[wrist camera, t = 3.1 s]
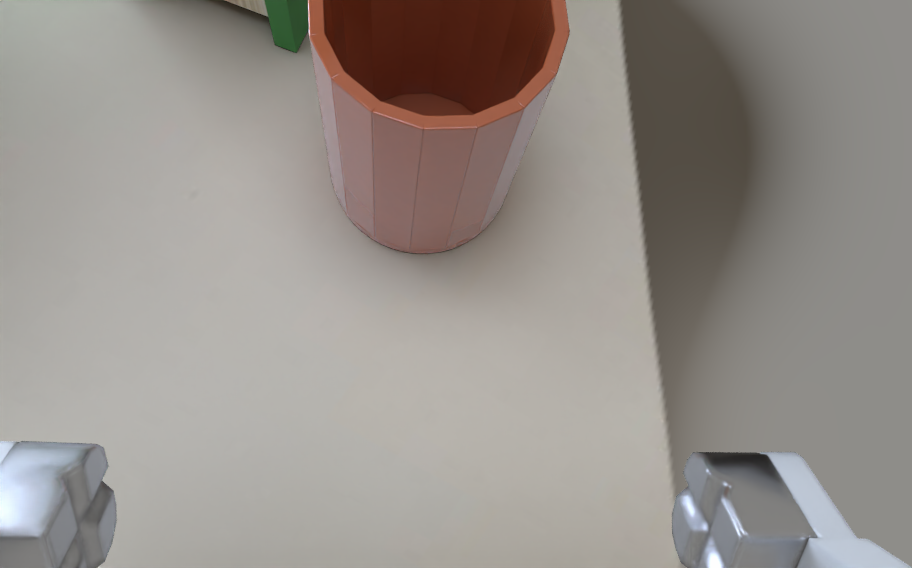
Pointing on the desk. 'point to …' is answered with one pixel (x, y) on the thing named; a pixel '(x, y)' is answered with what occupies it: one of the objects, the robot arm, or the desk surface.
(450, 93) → the cup
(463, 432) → the desk surface
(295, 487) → the desk surface
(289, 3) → the hardback book
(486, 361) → the desk surface
